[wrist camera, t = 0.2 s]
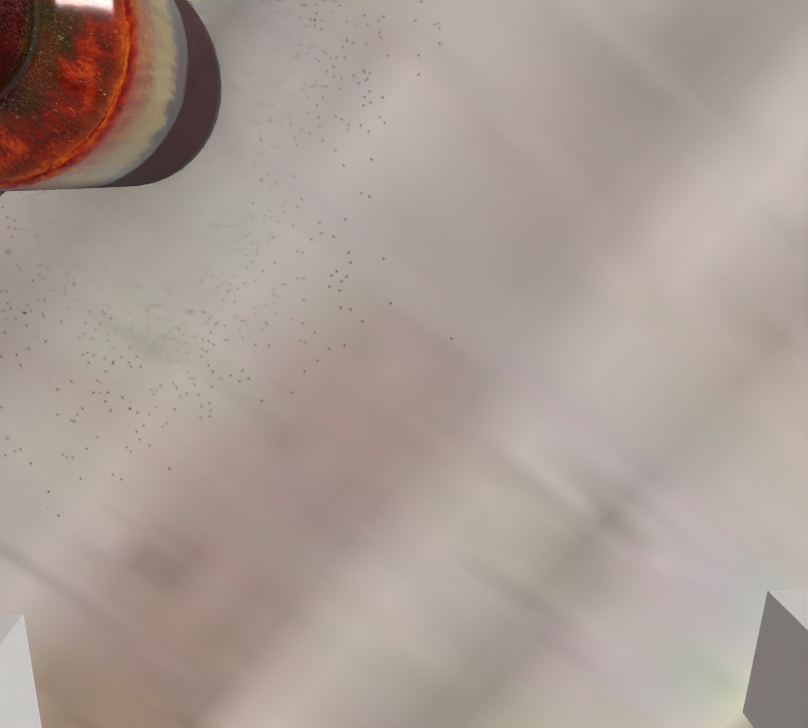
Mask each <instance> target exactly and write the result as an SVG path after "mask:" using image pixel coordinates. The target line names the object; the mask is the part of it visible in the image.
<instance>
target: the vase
mask: <svg viewBox="0 0 808 728" xmlns="http://www.w3.org/2000/svg"><path fill="white" fill-rule="evenodd" d="M220 102H221V76H220V66H219V62H218V58H217V55H216V51H215V47H214V45H213V43H212V40H211V38H210V35H209V33H208V31H207V29H206V27H205V26H204V24H203V22H202V20H201V19H200V17H199V15H198V14H197V13H196V12H195V10H194V9H193V8H192V6H191V5H190V4H189V3H188V1H187V0H0V191H28V190H55V189H81V188H105V187H127V186H140V185H145V184H150V183H154V182H157V181H160V180H162V179H165V178H167V177H169V176H171V175H173V174H174V173H176V172H178V171H180V170H181V169H183V168H184V167H185V166H186V165H187V164H188V163H190V162H191V161H192V160H193V159H194V158H195V157H196V156H197V154H198V153H199V152H200V151H201V149H202V148H203V147H204V146H205V144H206V142H207V140H208V139H209V137H210V135H211V133H212V131H213V128H214V126H215V123H216V120H217V117H218V112H219V107H220Z"/></svg>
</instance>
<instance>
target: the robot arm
mask: <svg viewBox="0 0 808 728" xmlns="http://www.w3.org/2000/svg"><path fill="white" fill-rule="evenodd" d="M743 713H744V715H745V716H746V717H747V719H748V720H749V721H750V723H751V724H752V726H753V727H754V728H808V590H807V589H804V590H772V591H768V592H767V596H766V601H765V606H764V611H763V616H762V621H761V626H760V631H759V636H758V640H757V645H756V650H755V655H754V660H753V665H752V670H751V675H750V680H749V684H748V689H747V694H746V699H745V704H744V709H743ZM0 728H42V727H41V721H40V715H39V709H38V703H37V696H36V690H35V684H34V678H33V671H32V665H31V659H30V653H29V647H28V640H27V634H26V628H25V622H24V615H23V614H0Z"/></svg>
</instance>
